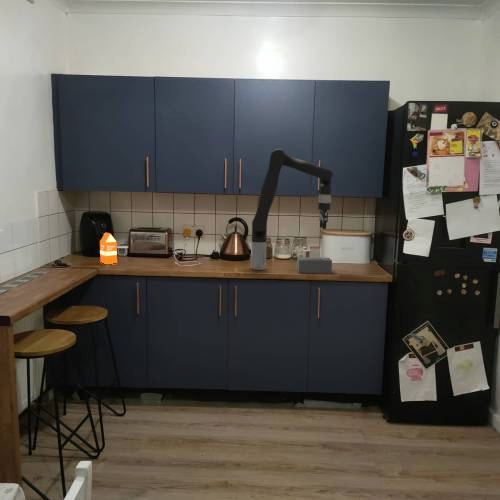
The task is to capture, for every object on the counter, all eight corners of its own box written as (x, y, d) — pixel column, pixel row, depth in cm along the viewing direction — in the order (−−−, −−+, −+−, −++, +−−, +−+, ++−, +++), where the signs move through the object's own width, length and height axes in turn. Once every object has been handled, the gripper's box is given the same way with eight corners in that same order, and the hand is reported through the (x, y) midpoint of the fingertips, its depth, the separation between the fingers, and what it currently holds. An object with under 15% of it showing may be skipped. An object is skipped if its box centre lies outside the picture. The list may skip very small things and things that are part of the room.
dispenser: (298, 273, 279) (299, 259, 277) (296, 269, 289) (297, 256, 287) (331, 273, 279) (332, 259, 278) (328, 270, 289) (328, 256, 288)
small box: (305, 266, 299) (305, 250, 297) (301, 265, 304) (302, 249, 303) (316, 266, 301) (317, 250, 300) (313, 264, 306) (313, 249, 305)
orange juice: (105, 265, 293) (104, 234, 290) (100, 263, 299) (99, 232, 296) (117, 263, 298) (116, 233, 294) (111, 261, 304) (111, 231, 301)
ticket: (309, 268, 283) (310, 246, 281) (308, 268, 284) (309, 246, 282) (319, 268, 283) (319, 246, 281) (318, 268, 284) (319, 246, 282)
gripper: (316, 201, 288) (314, 226, 291) (320, 202, 274) (318, 229, 277) (328, 201, 289) (326, 227, 291) (333, 202, 274) (331, 229, 277)
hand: (322, 228), depth 284 cm, fingers open, 8 cm apart
